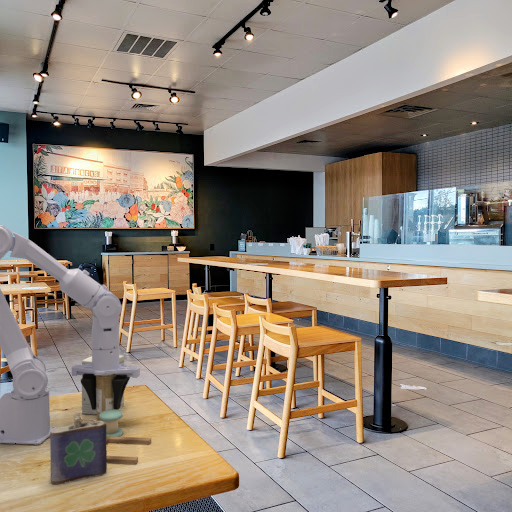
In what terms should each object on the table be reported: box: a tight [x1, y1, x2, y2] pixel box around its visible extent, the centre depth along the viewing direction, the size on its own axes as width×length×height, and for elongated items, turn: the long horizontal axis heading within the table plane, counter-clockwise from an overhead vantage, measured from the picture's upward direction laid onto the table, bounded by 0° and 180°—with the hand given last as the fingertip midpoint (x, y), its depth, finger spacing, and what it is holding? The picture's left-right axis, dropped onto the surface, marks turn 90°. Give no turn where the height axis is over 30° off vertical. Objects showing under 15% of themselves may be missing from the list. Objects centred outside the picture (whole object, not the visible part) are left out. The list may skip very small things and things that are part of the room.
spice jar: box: [96, 374, 116, 422], centre depth 108 cm, size 5×5×14 cm
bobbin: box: [99, 409, 124, 437], centre depth 103 cm, size 5×5×4 cm
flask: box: [49, 413, 108, 485], centre depth 86 cm, size 9×3×11 cm, turn 117°
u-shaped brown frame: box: [106, 436, 152, 465], centre depth 96 cm, size 10×10×1 cm
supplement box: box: [81, 354, 125, 416], centre depth 117 cm, size 7×7×13 cm
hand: (106, 408), depth 108 cm, fingers closed on spice jar, 4 cm apart
